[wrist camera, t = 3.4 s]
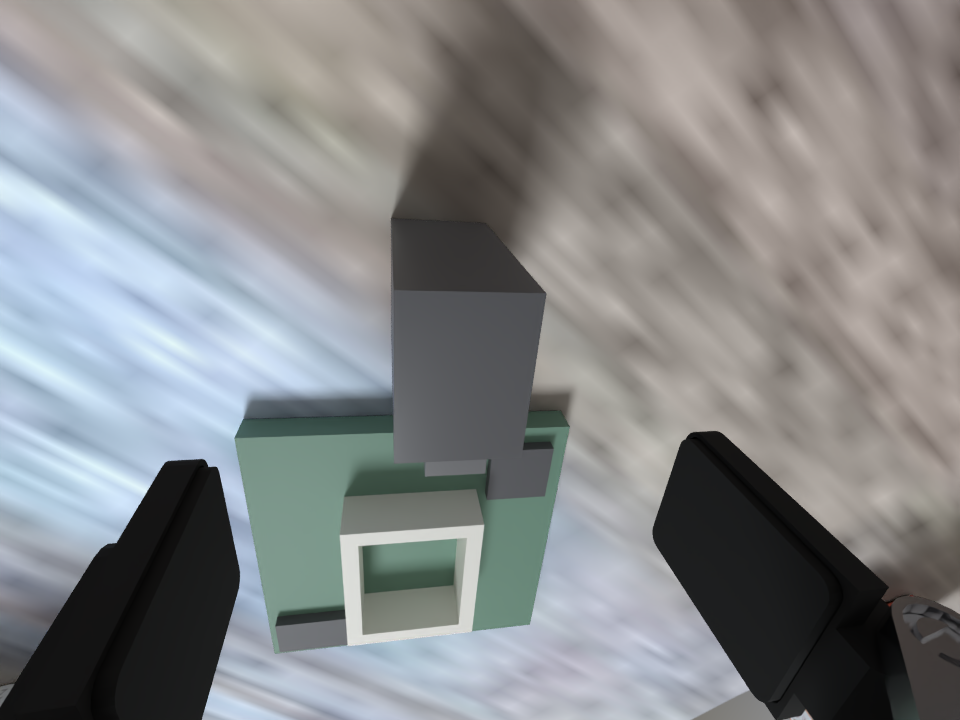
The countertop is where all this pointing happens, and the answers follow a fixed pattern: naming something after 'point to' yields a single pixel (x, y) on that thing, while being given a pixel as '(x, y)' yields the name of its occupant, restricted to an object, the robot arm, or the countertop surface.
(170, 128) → the countertop surface
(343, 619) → the board
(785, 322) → the countertop surface
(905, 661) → the robot arm
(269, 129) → the countertop surface
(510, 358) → the plug
